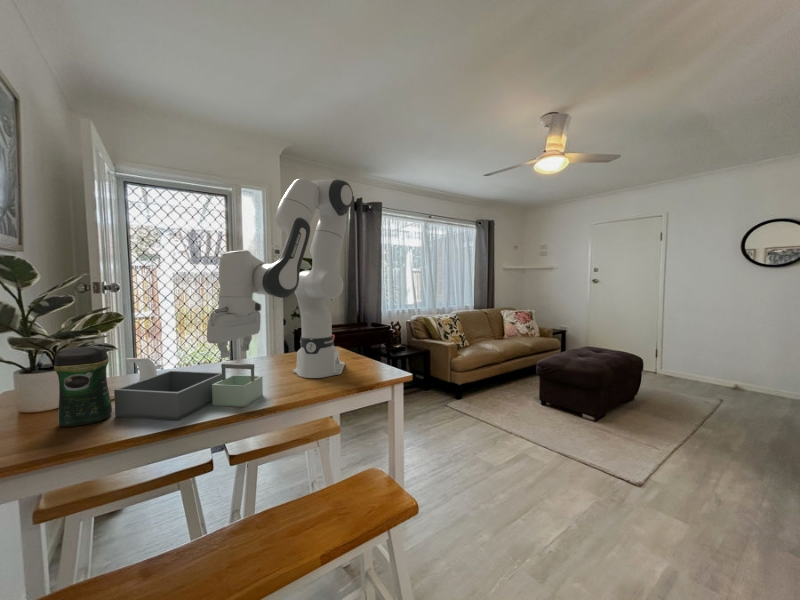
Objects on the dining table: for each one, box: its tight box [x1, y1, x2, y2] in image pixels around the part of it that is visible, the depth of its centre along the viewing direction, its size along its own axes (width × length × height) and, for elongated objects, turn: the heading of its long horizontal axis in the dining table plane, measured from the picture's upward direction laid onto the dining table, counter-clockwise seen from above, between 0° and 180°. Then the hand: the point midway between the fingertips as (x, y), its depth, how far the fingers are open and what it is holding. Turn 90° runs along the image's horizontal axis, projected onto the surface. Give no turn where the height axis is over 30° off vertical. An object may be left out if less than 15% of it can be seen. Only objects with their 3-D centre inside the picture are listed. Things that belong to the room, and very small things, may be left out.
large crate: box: [113, 370, 222, 421], centre depth 93 cm, size 18×18×7 cm
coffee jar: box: [53, 346, 113, 427], centre depth 83 cm, size 10×8×19 cm
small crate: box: [212, 362, 264, 408], centre depth 97 cm, size 10×10×11 cm
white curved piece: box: [125, 357, 158, 382], centre depth 101 cm, size 5×6×12 cm
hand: (235, 353), depth 96 cm, fingers open, 8 cm apart
